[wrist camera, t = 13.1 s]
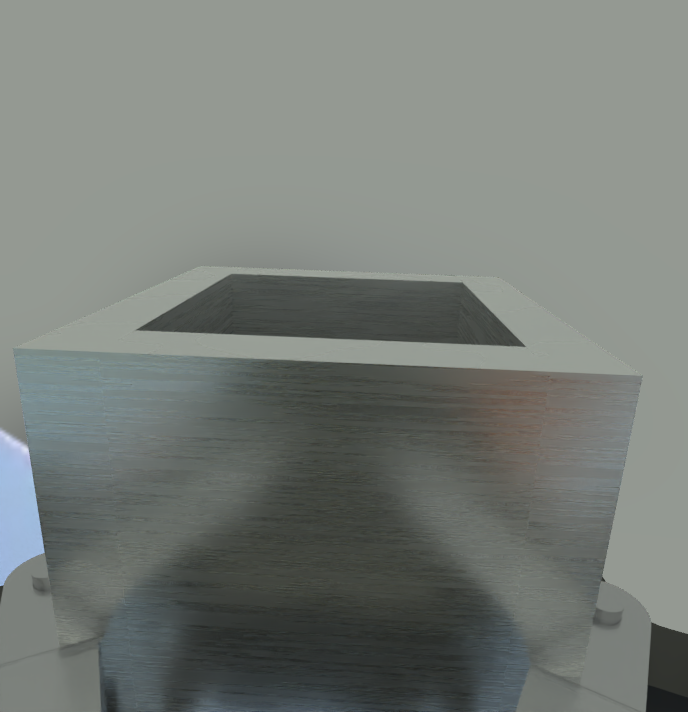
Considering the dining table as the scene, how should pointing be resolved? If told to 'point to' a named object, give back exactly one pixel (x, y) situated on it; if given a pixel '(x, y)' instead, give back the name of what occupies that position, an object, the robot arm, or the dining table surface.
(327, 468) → the sleeve
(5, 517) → the dining table surface
